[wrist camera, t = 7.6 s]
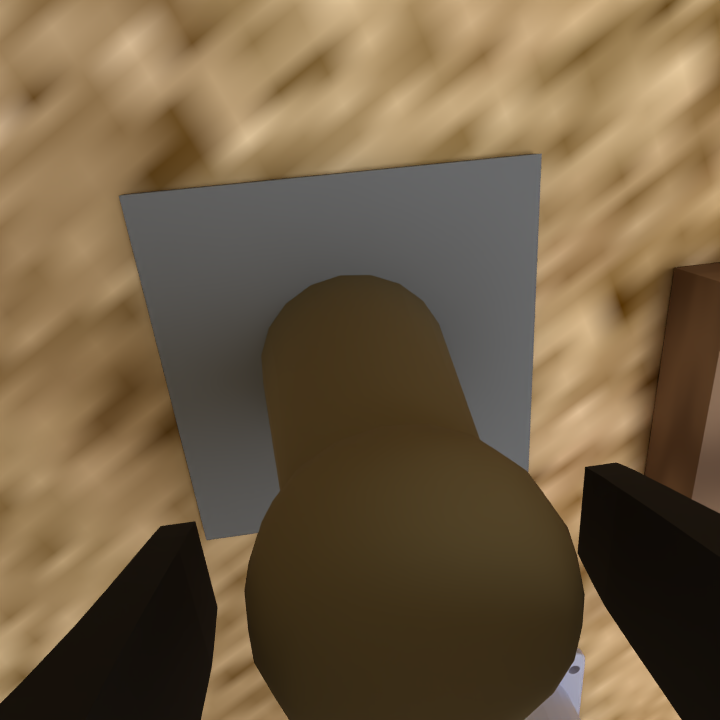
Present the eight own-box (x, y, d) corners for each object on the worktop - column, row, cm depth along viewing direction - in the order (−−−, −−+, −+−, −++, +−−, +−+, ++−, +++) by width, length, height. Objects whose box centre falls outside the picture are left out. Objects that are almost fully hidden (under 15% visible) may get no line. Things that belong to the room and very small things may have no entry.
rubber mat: (521, 486, 20) (527, 494, 20) (208, 530, 19) (206, 540, 19) (534, 153, 15) (541, 154, 15) (124, 194, 15) (118, 195, 14)
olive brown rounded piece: (354, 476, 18) (421, 874, 8) (220, 370, 16) (92, 723, 6) (482, 361, 17) (741, 659, 7) (355, 232, 15) (463, 390, 5)
